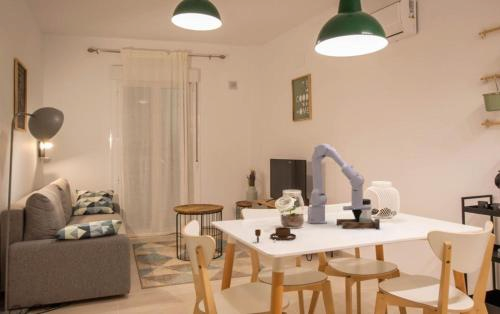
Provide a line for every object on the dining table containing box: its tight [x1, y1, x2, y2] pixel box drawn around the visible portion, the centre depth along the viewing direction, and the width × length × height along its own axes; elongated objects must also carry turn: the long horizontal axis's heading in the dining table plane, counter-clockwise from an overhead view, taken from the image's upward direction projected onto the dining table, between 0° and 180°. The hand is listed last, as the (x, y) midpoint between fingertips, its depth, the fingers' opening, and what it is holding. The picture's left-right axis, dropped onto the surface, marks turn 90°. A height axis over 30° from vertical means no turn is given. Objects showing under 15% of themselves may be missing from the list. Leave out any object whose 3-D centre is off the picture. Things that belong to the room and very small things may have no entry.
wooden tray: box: [336, 218, 381, 230], centre depth 218 cm, size 19×14×5 cm
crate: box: [359, 217, 373, 222], centre depth 219 cm, size 6×6×4 cm
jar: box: [360, 198, 372, 219], centre depth 238 cm, size 9×8×12 cm
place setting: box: [254, 226, 297, 243], centre depth 191 cm, size 18×20×6 cm
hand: (356, 223), depth 219 cm, fingers closed
